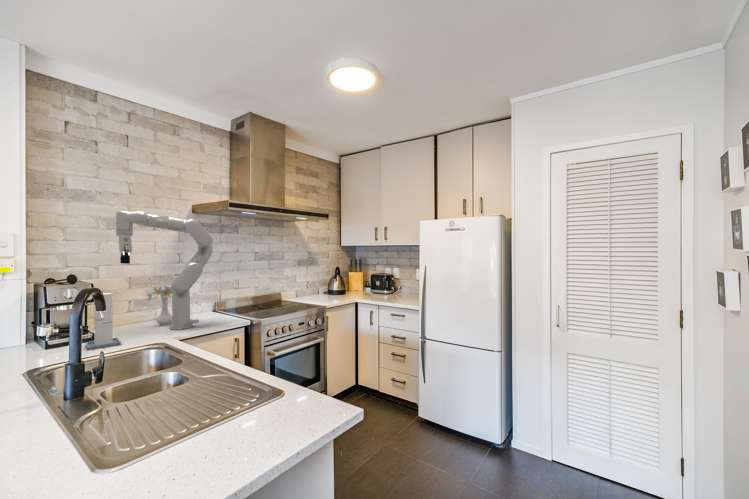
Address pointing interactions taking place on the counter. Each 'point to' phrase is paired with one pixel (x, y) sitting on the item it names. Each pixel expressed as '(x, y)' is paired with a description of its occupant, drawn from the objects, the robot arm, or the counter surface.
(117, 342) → the slate tray
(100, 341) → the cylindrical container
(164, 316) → the flower vase
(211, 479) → the counter surface
